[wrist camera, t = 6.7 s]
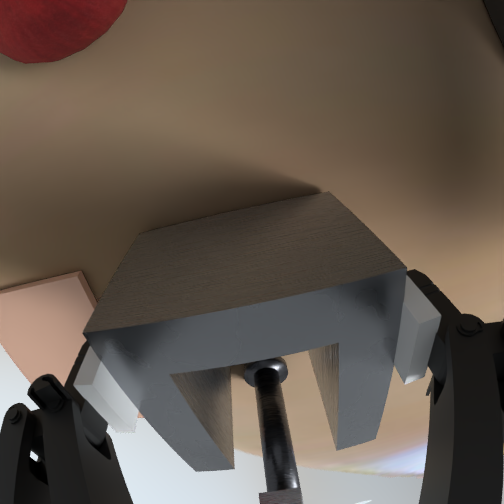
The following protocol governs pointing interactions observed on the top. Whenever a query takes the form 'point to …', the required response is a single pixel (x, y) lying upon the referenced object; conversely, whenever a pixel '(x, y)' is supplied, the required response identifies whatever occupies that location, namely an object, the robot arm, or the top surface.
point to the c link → (251, 318)
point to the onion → (53, 27)
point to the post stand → (274, 431)
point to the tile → (46, 324)
